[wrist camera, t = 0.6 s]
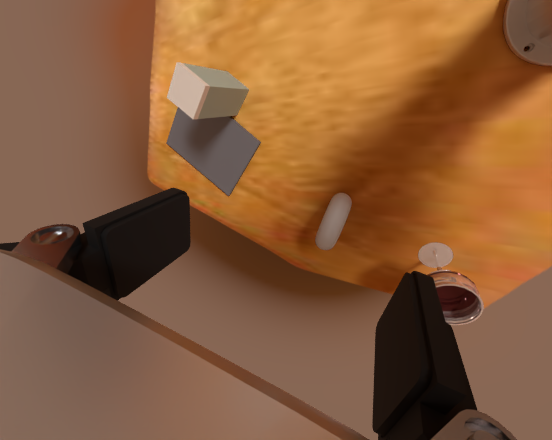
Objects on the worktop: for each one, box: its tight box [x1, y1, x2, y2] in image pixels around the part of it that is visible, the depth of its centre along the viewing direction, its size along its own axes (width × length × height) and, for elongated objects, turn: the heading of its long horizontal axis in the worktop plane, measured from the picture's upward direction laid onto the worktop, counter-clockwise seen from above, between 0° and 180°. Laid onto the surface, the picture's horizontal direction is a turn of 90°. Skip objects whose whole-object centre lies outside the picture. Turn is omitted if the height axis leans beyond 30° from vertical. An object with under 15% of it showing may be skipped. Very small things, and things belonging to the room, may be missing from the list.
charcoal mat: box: [167, 107, 261, 196], centre depth 48 cm, size 14×18×1 cm
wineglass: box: [418, 243, 484, 325], centre depth 36 cm, size 7×7×12 cm
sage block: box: [167, 62, 249, 120], centre depth 38 cm, size 5×5×12 cm
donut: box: [315, 193, 352, 250], centre depth 40 cm, size 10×4×10 cm, turn 166°
